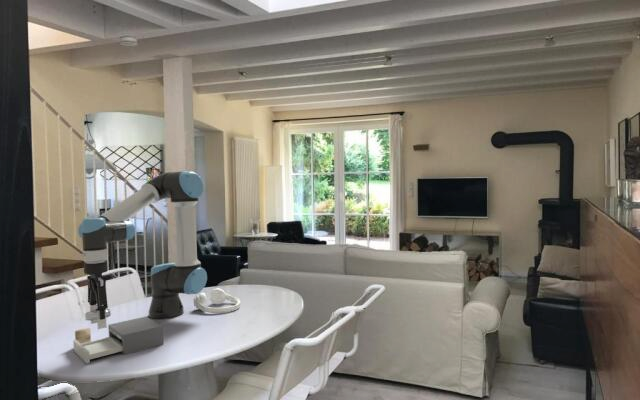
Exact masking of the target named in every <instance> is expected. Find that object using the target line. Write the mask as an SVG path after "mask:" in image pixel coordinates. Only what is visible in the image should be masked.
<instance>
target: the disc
mask: <svg viewBox="0 0 640 400" xmlns="http://www.w3.org/2000/svg"><path fill="white" fill-rule="evenodd" d="M111 315H112V313H111V308H106V318H109V317H111ZM84 317H85V321H91V320H97V311H96V310H94V311H90V310H89V311H87V312H85V314H84Z"/></svg>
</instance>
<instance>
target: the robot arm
mask: <svg viewBox="0 0 640 400" xmlns="http://www.w3.org/2000/svg"><path fill="white" fill-rule="evenodd" d="M203 193H204V182H203V180H202V178H201V176H199V174H198V173H196V172H194V171H187V170H183V171H172V172H164V173H163V172H162V173H161V174H159V175H157V176H155V177H152V178H151V179H149V180H148V181H146V182H145V183H144V184H142V185H141V187H140V189H138V190H137V191H135V192H133V194H131V195H129V196H127V197H126V198H125V199H123V200H121V201H120V202H119V203H117V204H116V205H114V206H113V207H111V208H110V209H108V210H106V211H105V212H104V213H102V214H101V215H99V216H97V217H88V218H86V217H85V218H84V219H83V220H82V221H81V223H80V224H79V225H78V229H77V233H78V236H79V237H80V238H81V239H82V241H81V242H82V252H83V253H81V257H83V262H84V263H83V273H84V274H85V275H87V277H86V278H87V302H88V304H89V312H90V311H94V310H96V311H97V320H90V325H94V324H97V330H102V329H106V328H108V324H107V317H106V309H109V306H108V305H109V304H108V298H107V297H108V295H107V283H106V282H107V281H106V279H104V277H103V274H104V273H107V272H108V261H107V260H108V249H107V247H108V245H107V244H109V243H117V242H125V241H128V240H131V239H133V238H134V237H135V234H136V228H135V224H134V223H133V222H132V221H131V220H129V219H131V218H133V217H134V216H135V215H137V214H138V213H139V212H142V210H144V209H145V208H147V207H149V206H150V205H151V204H156V203H158V202H159V201H162V200H165V199H170V203H171V205H173V206H174V214H175V215H174V217H175V218H174V220H175V242H176V243H175V244H176V260H175V262H168V263H160V264H157V265H153V266H152V267H151V268H150V286H151V301H150V302H151V303H150V306H149V309H148V318H149V319H151V318H152V319H161V320H162V319H169V318H175V317H178V316H181V315H182V314H184V311H185V309H184V306H183V302H182V300H181V298H180V294H186V295H197V294H200V293H202V292H201V291H203V289H204V288H205V286H206V284H207V281H208V275H207V274H208V273H207V271H206V269H205V268H203V267H202V263H201V261H200V260H199V259H198V251H197V250H198V249H197V223H196V220H197V219H196V205H197V204H198V202H199V197H201V196H202V195H203Z"/></svg>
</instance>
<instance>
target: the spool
mask: <svg viewBox="0 0 640 400" xmlns="http://www.w3.org/2000/svg"><path fill="white" fill-rule="evenodd" d="M91 335H92V333H91V328H90V327H89V328H88V327H87V328H80V329H76V330H75V331H74V336H75V339H74V340H77V341H78V342H80V343H81V344H82V343H86V342H90V341H92V339H91V338H92V337H91Z"/></svg>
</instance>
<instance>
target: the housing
mask: <svg viewBox="0 0 640 400" xmlns="http://www.w3.org/2000/svg"><path fill="white" fill-rule="evenodd" d="M107 329H108V337H112V338H116V339H117V340H119V341H120V342H121V343H123V351H120V352H119V353H121V354H122V355H123V356H125V355H129V354H133V353H137V352H140V351H145V350H148V349H152V348H156V347H159V346H162V345H164V330H163V325H162V324H160V323H159V322H157V321H155V320H154V319H151V318H150V317H147V316H143V317H138V318H133V319H132V318H131V319H128V320H124V321H119V322H115V323H109V324H107Z"/></svg>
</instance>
